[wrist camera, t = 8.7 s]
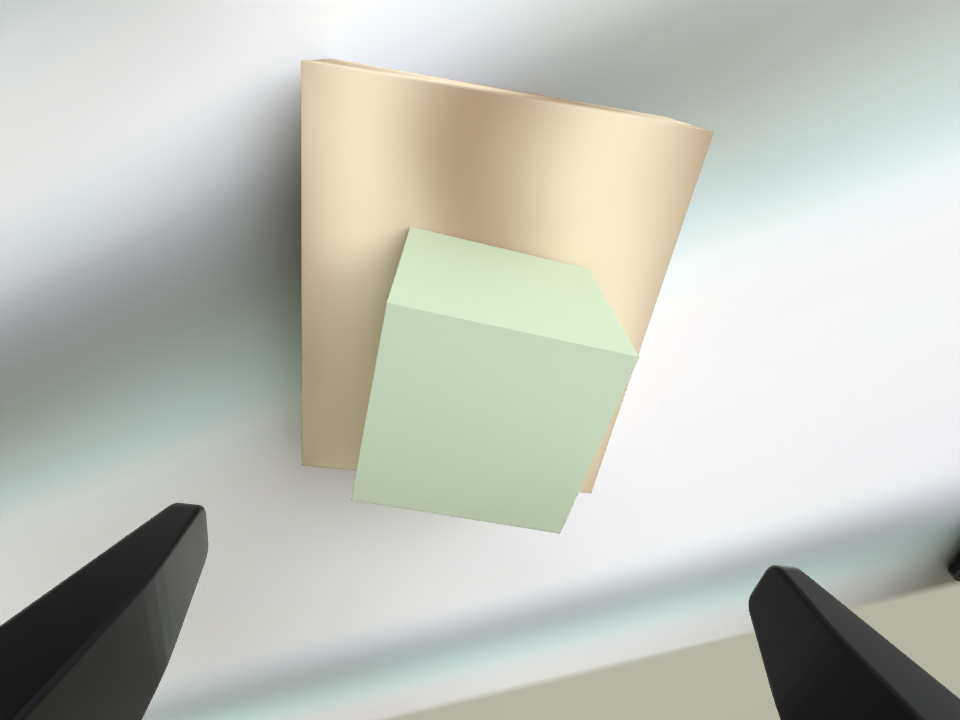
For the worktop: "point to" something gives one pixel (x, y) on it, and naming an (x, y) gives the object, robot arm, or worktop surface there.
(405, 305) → the sage cube
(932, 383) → the worktop surface
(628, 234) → the birch block
